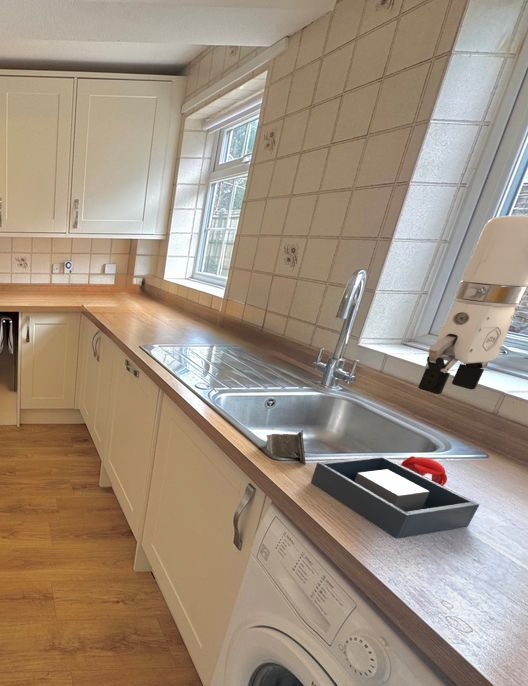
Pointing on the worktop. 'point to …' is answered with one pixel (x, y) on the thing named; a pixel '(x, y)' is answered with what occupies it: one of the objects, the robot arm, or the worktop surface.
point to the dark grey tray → (435, 515)
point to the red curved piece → (426, 468)
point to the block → (393, 489)
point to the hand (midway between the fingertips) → (446, 389)
